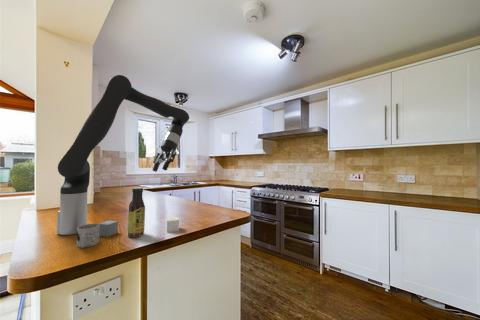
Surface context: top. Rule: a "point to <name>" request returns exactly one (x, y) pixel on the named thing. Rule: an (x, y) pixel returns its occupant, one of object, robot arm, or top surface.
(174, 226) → the off-white block
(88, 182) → the robot arm
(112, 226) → the slate block
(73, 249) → the top surface
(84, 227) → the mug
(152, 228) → the top surface
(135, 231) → the sauce bottle
